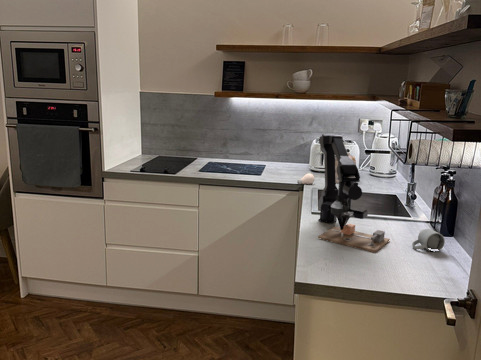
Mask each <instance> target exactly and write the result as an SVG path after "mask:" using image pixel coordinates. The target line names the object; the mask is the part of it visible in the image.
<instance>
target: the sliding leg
mask: <svg viewBox="0 0 481 360" xmlns="http://www.w3.org/2000/svg"><path fill="white" fill-rule="evenodd" d="M355 231H356V224H352V223H349V222H347V223H346V225H345V226H344V228H343V230H341V237H343V234H348V235H351V234H352V233H354V232H355Z"/></svg>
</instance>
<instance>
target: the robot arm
mask: <svg viewBox="0 0 481 360" xmlns="http://www.w3.org/2000/svg"><path fill="white" fill-rule="evenodd" d="M343 137H344V136H343V135H341V134H337V133H336V134H333V133H332V134H331V133H329V134H328V133H324V134H321V136H319V138H318V140H319V141H318V143H319V147H320V151H322V153H323V154H324V157H323V159H324V187H323V189H322V191H321V196H320V197H319V200H318V202H317V206H318V208H319V210H320V212H319V213H320V214H319V219H318V220H317V221H318V222H320V223H321V222H322V223H327V224H333V223H335V222H336V221H337V222H338V225H339V228H340V229H341V230H343V228H344V226H345V225H347V224H348V223H349V219H350V218H352V217H354V218H355V219H359V220H363V219H365V218H367V217H368V215H369V212H368V210H367V209H366V208H362V207H358V208H355V209H353V204H352V202H353V201H357V200H359V199H360V198H361V197H362V196H363V189H362V188H361V187H360V186H359V182H360V178H361V176H360V173H359V169H358V166H357V163H356V164H355V162H354V161H353V160H352V159H350V158H349V156H348V154H347V152H348V151H347V149H346V146H345V143H344V138H343ZM335 156H336V159H337V161H338V165H337V175H338V180H339V183H338V186H337V185H336V184H337V183H336V176H335ZM354 176H355V178H347V177H354Z"/></svg>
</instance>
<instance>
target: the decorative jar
mask: <svg viewBox="0 0 481 360" xmlns="http://www.w3.org/2000/svg"><path fill="white" fill-rule="evenodd" d="M347 154H348V156H349V158H350V159H352V160H353V161H354V162H355V164H356V165H357V160H356V158H355V156H354V155H351V154H350V152H348V151H347ZM337 165H338V161H337V159H336V156H335V176H336V184H339V180H338V175H337ZM347 178H355V176H354V177H347Z"/></svg>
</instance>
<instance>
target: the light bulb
mask: <svg viewBox="0 0 481 360" xmlns="http://www.w3.org/2000/svg"><path fill="white" fill-rule="evenodd" d="M314 182H315V176H314V174H313V173H306V174H304V176H303V177H301V178H299V179H298V180H297V184H298V185H304V184H305V185H311V184H313V183H314Z"/></svg>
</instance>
